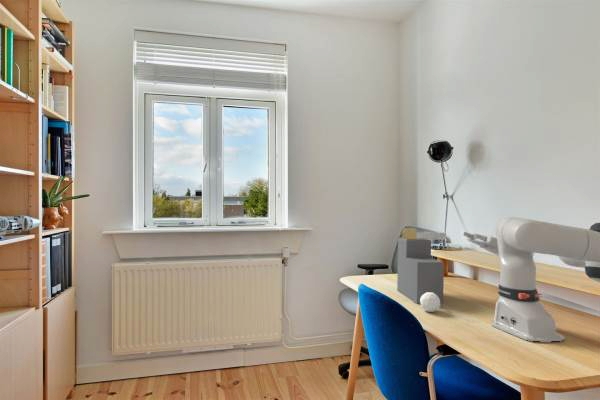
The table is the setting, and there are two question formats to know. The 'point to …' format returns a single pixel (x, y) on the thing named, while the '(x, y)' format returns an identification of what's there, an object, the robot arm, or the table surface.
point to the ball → (430, 302)
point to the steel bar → (421, 235)
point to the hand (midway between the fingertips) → (469, 234)
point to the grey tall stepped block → (418, 270)
